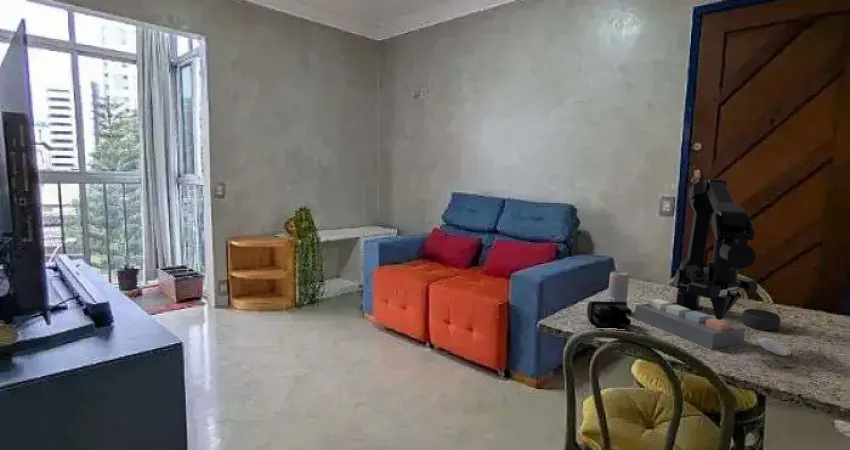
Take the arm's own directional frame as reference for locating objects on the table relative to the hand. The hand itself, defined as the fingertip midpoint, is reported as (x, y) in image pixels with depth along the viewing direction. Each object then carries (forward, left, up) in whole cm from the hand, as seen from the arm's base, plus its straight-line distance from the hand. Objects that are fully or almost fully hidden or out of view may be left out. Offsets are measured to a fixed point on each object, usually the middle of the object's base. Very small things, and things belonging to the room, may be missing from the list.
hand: (718, 319), depth 123 cm
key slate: (0, -6, -3) cm, 7 cm away
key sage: (0, -12, -3) cm, 12 cm away
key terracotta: (0, 0, -3) cm, 3 cm away
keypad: (0, -9, -6) cm, 11 cm away
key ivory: (0, -18, -3) cm, 18 cm away
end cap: (+18, -19, -6) cm, 27 cm away
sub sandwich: (-8, +9, -6) cm, 14 cm away
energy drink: (+6, -28, -6) cm, 29 cm away
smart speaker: (-24, -4, -6) cm, 25 cm away
